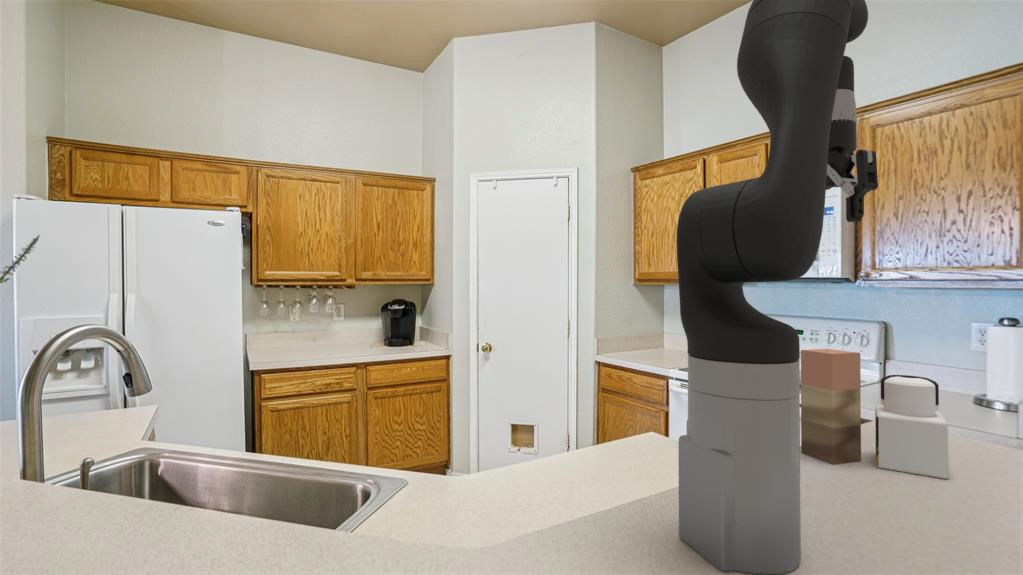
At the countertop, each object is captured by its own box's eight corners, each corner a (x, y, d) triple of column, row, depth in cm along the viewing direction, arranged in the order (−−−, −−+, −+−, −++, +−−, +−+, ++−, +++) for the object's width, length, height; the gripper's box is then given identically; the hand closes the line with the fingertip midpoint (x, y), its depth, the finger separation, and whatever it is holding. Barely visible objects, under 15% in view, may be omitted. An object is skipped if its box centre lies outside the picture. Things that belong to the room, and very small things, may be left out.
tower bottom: (832, 465, 65) (832, 427, 65) (801, 453, 70) (801, 418, 70) (861, 461, 67) (860, 425, 67) (828, 450, 72) (828, 416, 72)
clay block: (860, 389, 67) (860, 352, 67) (832, 390, 66) (832, 353, 66) (827, 382, 72) (827, 348, 72) (801, 384, 70) (800, 349, 70)
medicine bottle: (875, 453, 70) (874, 370, 70) (941, 464, 66) (940, 375, 66) (877, 468, 64) (876, 377, 64) (949, 480, 60) (948, 383, 60)
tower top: (832, 427, 66) (832, 390, 66) (801, 418, 70) (800, 384, 70) (860, 425, 67) (860, 389, 67) (828, 416, 72) (827, 382, 72)
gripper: (890, 112, 72) (891, 220, 72) (808, 141, 86) (808, 232, 86) (851, 106, 70) (852, 218, 70) (773, 137, 84) (774, 230, 84)
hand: (828, 225), depth 78 cm, fingers open, 8 cm apart
